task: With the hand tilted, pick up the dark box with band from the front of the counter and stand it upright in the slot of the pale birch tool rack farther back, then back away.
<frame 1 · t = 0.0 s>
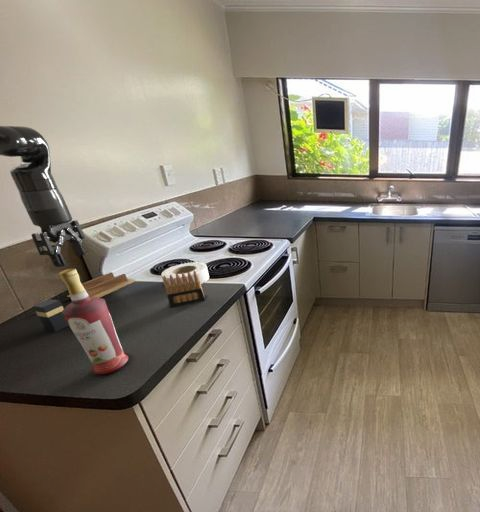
hand: (71, 260, 84), 22 cm above the countertop, tool pointing down, fingers open, 8 cm apart
dark box with band: (59, 327, 91), on the countertop
tape roll: (188, 281, 120), on the countertop
liquor: (113, 368, 75), on the countertop
rack: (102, 289, 113), on the countertop
ammunition clip: (188, 303, 104), on the countertop
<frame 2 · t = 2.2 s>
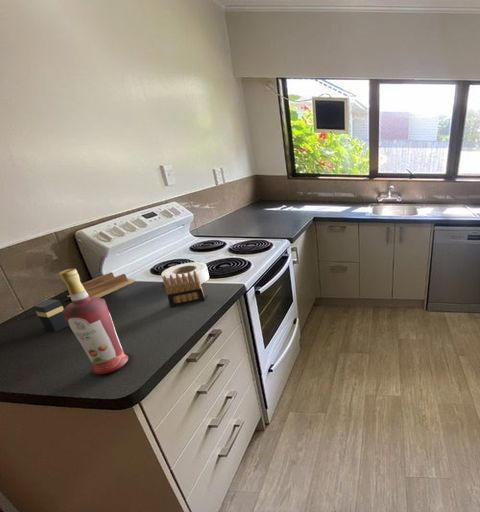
nothing on the countertop moved.
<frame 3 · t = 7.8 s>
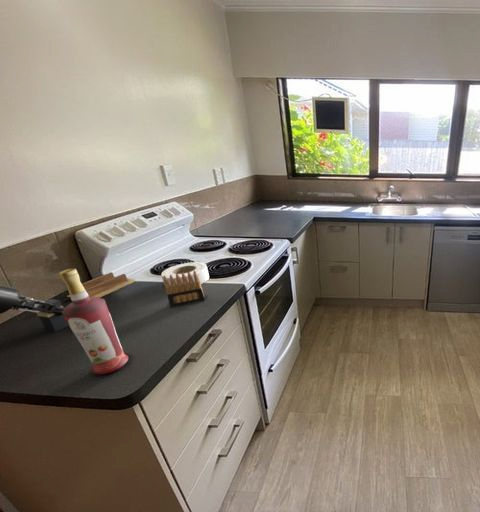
hand: (59, 310, 90), 5 cm above the countertop, tool tilted 45°, fingers closed on dark box with band, 4 cm apart
dark box with band: (59, 327, 91), on the countertop, touching gripper
everything else where it was.
when the fingers open (6 cm above the countertop, at t = 18.3 s): dark box with band stays where it is, resting on rack.
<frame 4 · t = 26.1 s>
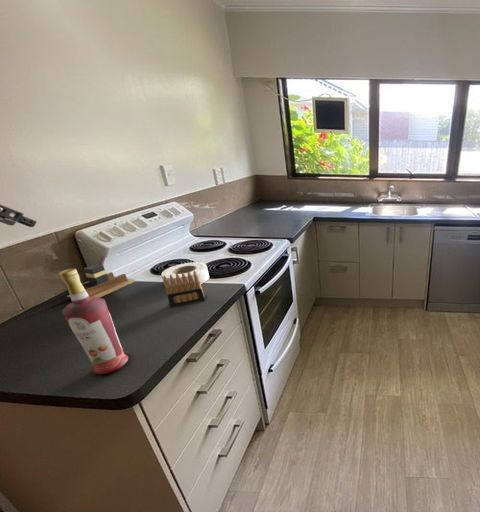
hand: (24, 223, 90), 31 cm above the countertop, tool tilted 45°, fingers open, 8 cm apart
dark box with band: (102, 287, 113), point 1 cm above the countertop, touching rack
everything else where it was.
at the end: dark box with band inside the target area on the rack (0.1 cm from its centre), point 1.0 cm above the rack's base; dark box with band tilted 0°; the gripper is holding nothing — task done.
